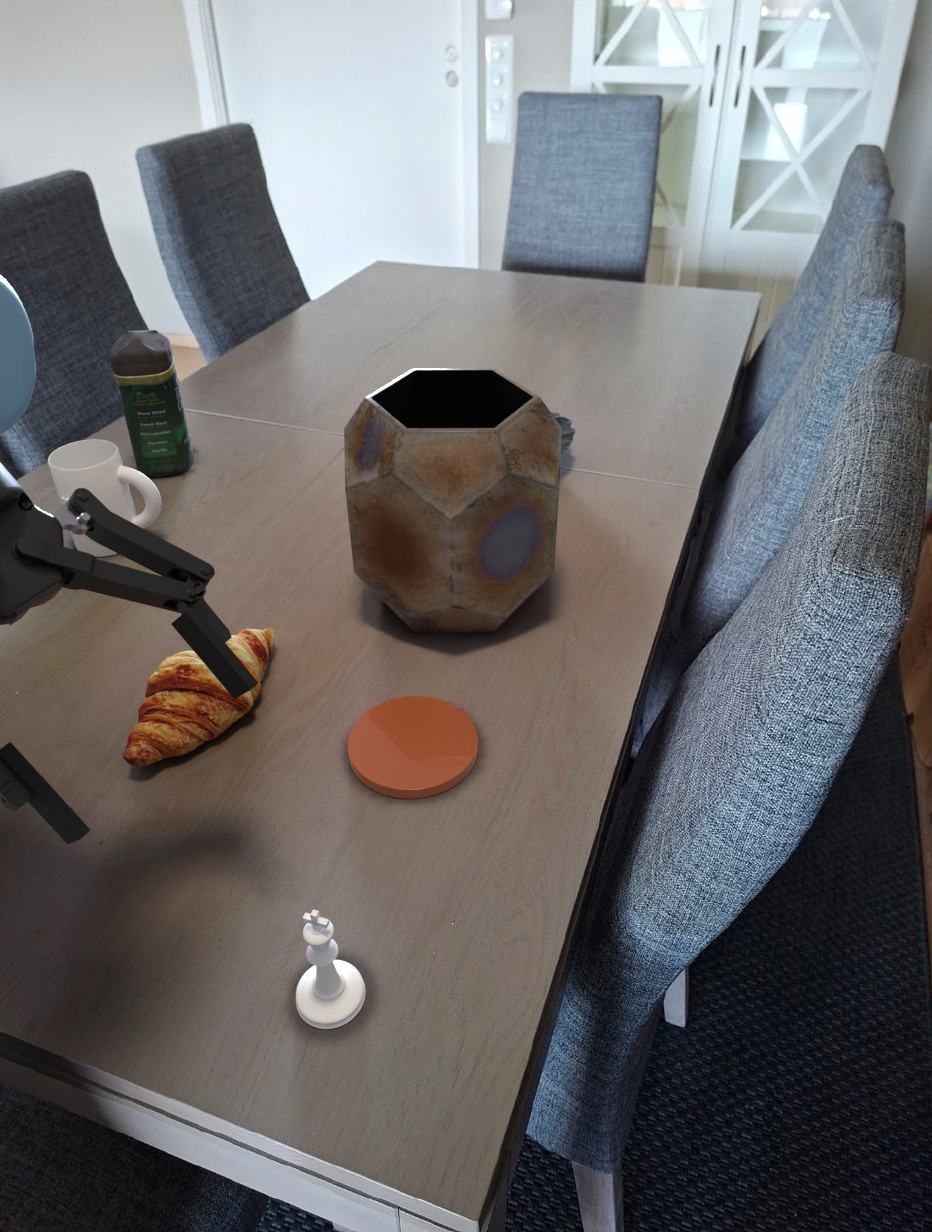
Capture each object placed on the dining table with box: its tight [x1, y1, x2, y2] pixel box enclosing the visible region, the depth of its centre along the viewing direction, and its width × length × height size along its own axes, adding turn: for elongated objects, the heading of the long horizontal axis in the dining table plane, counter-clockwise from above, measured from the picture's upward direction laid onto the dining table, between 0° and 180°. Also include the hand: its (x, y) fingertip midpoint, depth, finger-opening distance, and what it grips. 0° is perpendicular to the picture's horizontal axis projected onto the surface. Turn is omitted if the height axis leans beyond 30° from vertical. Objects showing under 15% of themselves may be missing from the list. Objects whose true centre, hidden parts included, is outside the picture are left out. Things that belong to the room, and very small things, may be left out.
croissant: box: [122, 627, 276, 767], centre depth 84 cm, size 21×10×8 cm, turn 156°
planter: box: [343, 367, 562, 633], centre depth 94 cm, size 22×24×24 cm
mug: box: [47, 438, 162, 558], centre depth 107 cm, size 8×12×12 cm
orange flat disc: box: [347, 695, 479, 800], centre depth 81 cm, size 12×12×1 cm
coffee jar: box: [108, 329, 194, 477], centre depth 122 cm, size 10×8×19 cm
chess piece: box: [295, 909, 366, 1030], centre depth 59 cm, size 5×5×10 cm
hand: (170, 758), depth 54 cm, fingers open, 13 cm apart
